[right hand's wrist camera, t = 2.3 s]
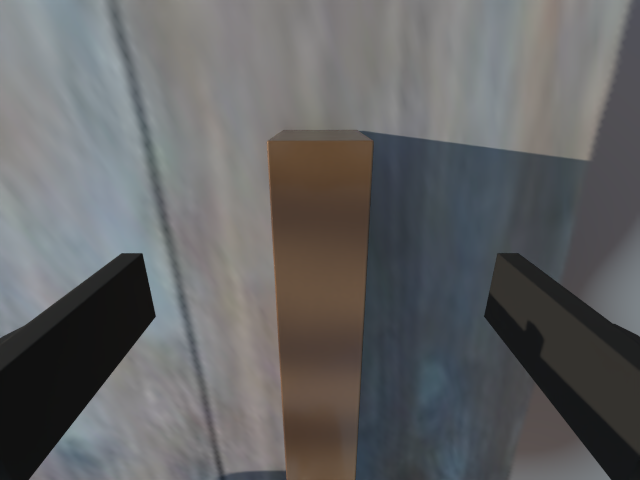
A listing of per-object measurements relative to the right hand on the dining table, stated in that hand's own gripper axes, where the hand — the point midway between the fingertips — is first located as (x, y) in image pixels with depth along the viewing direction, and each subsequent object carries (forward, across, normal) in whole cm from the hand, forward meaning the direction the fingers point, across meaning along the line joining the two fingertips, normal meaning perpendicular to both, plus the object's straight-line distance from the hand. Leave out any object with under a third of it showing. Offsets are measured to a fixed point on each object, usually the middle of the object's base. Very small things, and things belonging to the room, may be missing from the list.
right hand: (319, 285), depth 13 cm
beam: (+14, 0, -25) cm, 29 cm away
